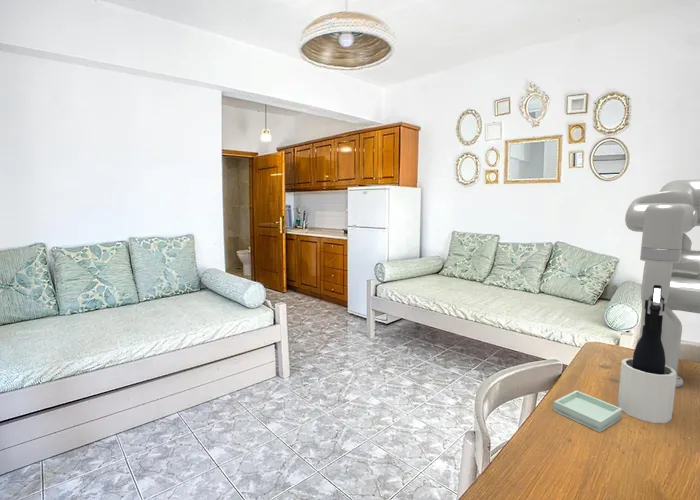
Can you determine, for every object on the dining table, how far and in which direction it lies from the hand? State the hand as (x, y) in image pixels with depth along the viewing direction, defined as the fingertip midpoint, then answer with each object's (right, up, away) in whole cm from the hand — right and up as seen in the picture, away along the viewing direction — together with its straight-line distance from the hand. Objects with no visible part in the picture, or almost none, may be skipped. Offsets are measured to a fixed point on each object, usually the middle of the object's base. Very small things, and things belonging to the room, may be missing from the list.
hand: (652, 326), depth 94 cm
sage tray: (-16, -22, +1) cm, 27 cm away
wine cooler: (0, -22, +3) cm, 23 cm away
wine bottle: (0, -23, +3) cm, 23 cm away
